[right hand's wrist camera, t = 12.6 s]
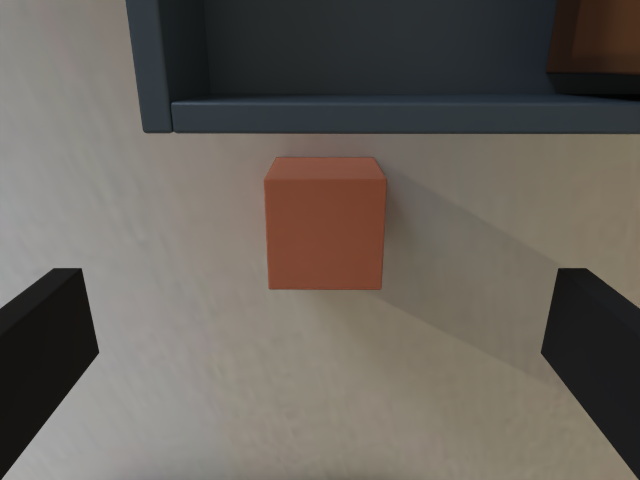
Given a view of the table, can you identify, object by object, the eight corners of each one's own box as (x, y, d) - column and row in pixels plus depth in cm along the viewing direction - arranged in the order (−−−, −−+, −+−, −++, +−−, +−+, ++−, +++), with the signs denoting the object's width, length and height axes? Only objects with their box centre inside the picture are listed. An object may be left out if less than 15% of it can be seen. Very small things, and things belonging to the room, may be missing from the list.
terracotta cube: (370, 248, 25) (381, 290, 20) (279, 248, 25) (268, 289, 20) (374, 157, 23) (387, 179, 18) (276, 157, 23) (263, 178, 18)
